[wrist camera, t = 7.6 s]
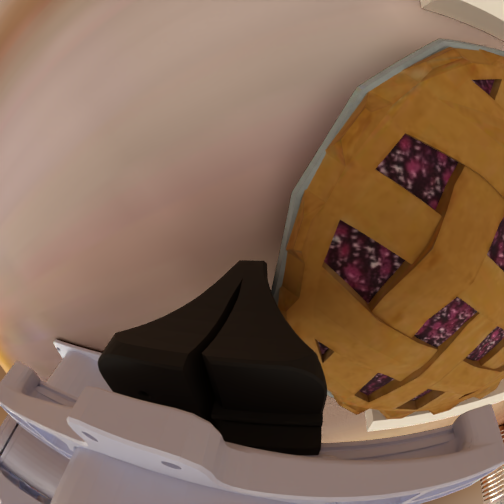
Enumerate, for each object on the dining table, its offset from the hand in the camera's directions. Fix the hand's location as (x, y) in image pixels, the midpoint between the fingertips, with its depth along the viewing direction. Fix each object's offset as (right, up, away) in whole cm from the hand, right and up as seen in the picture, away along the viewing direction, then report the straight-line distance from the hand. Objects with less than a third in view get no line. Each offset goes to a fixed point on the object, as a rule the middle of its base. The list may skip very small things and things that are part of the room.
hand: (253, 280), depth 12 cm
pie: (+12, +1, +1) cm, 12 cm away
